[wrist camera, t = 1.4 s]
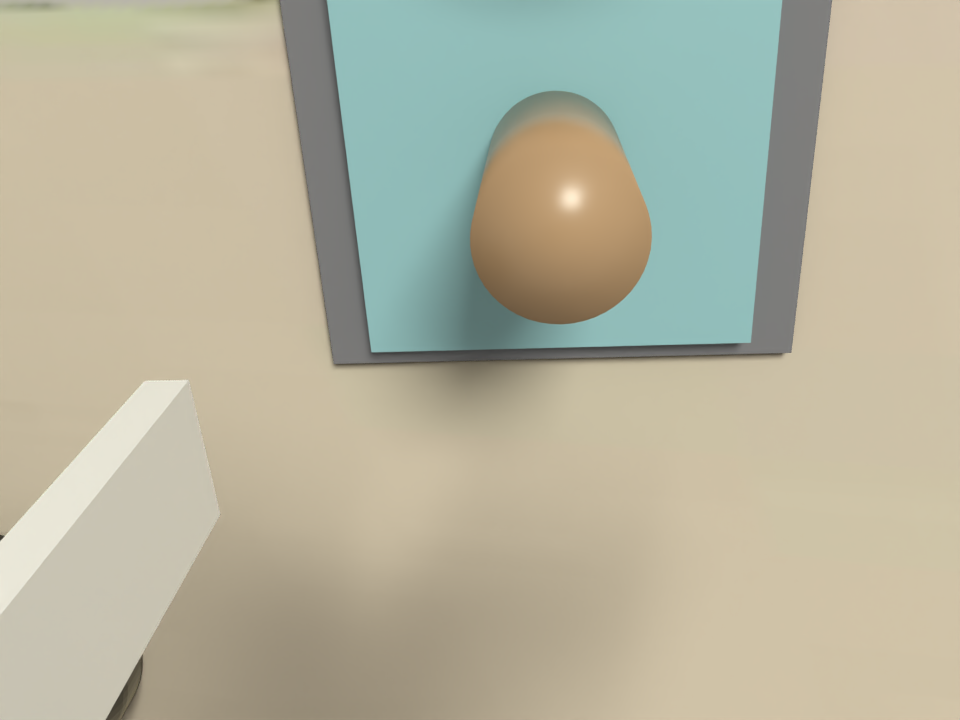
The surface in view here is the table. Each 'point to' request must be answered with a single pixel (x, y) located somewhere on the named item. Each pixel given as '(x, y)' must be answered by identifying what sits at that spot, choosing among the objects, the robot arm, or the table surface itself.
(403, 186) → the cover board
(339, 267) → the mat
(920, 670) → the table surface
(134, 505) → the robot arm
